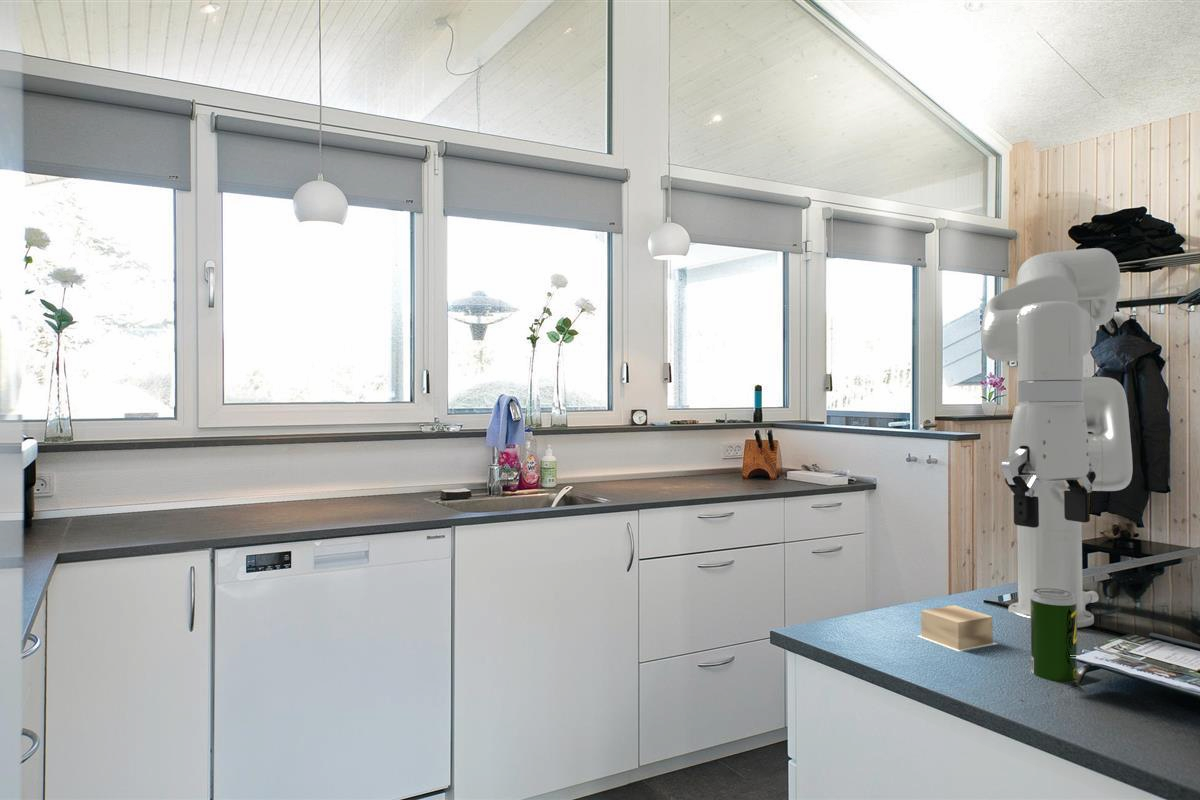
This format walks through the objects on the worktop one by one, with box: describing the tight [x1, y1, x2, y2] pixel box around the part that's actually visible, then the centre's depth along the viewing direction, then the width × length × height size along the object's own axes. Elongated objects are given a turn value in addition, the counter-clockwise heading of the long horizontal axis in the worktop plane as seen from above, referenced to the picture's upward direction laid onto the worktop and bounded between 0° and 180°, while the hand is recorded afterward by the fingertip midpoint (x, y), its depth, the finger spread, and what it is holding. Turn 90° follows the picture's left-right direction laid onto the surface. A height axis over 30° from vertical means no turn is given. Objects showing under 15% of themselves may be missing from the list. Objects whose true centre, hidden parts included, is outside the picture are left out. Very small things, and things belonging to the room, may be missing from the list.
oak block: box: [920, 604, 994, 650], centre depth 117 cm, size 7×7×4 cm
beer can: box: [1030, 588, 1079, 690], centre depth 102 cm, size 5×5×12 cm
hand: (1052, 523), depth 102 cm, fingers open, 9 cm apart
